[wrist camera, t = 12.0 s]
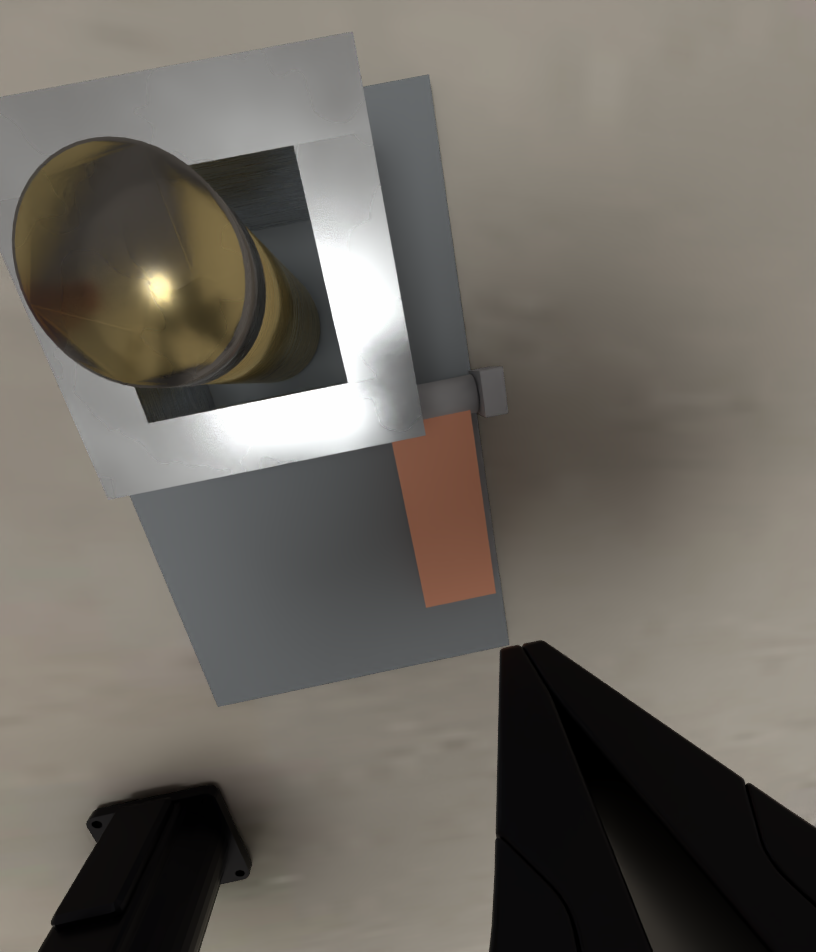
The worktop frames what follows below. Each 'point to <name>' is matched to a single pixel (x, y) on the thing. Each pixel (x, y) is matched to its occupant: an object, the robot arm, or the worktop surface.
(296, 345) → the brass cylinder
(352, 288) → the block
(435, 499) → the lever
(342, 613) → the slate mat
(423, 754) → the worktop surface
